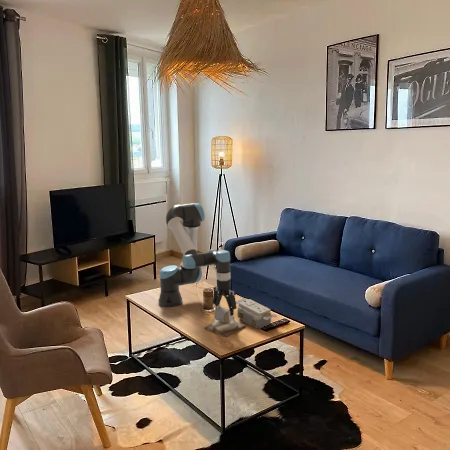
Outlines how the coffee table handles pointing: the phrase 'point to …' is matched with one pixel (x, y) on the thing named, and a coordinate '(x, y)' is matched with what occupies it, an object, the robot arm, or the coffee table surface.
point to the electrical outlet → (254, 313)
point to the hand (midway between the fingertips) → (224, 318)
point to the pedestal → (224, 327)
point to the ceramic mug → (222, 315)
